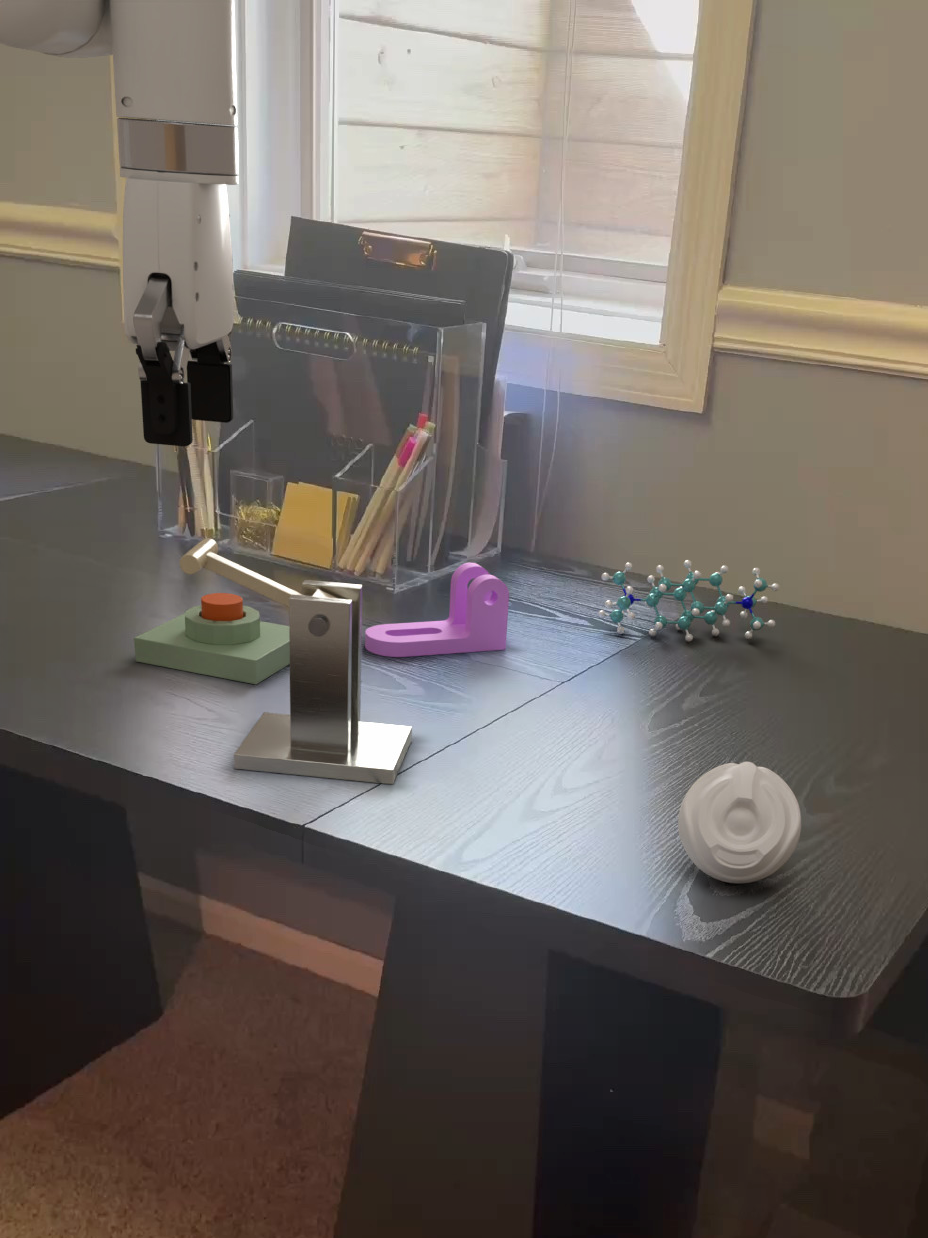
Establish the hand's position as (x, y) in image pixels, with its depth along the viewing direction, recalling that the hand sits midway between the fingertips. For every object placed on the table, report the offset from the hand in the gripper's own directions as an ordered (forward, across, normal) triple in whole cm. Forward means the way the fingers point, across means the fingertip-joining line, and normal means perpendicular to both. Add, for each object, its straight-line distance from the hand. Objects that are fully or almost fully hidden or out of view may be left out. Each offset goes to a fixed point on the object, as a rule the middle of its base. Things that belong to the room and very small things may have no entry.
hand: (190, 431), depth 97 cm
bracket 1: (+23, +1, +10) cm, 25 cm away
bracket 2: (+23, -28, +14) cm, 39 cm away
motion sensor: (+23, +14, +41) cm, 49 cm away
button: (+19, -19, -4) cm, 27 cm away
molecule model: (+23, -39, +38) cm, 59 cm away
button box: (+23, -19, -4) cm, 30 cm away
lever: (+11, +1, +5) cm, 13 cm away
